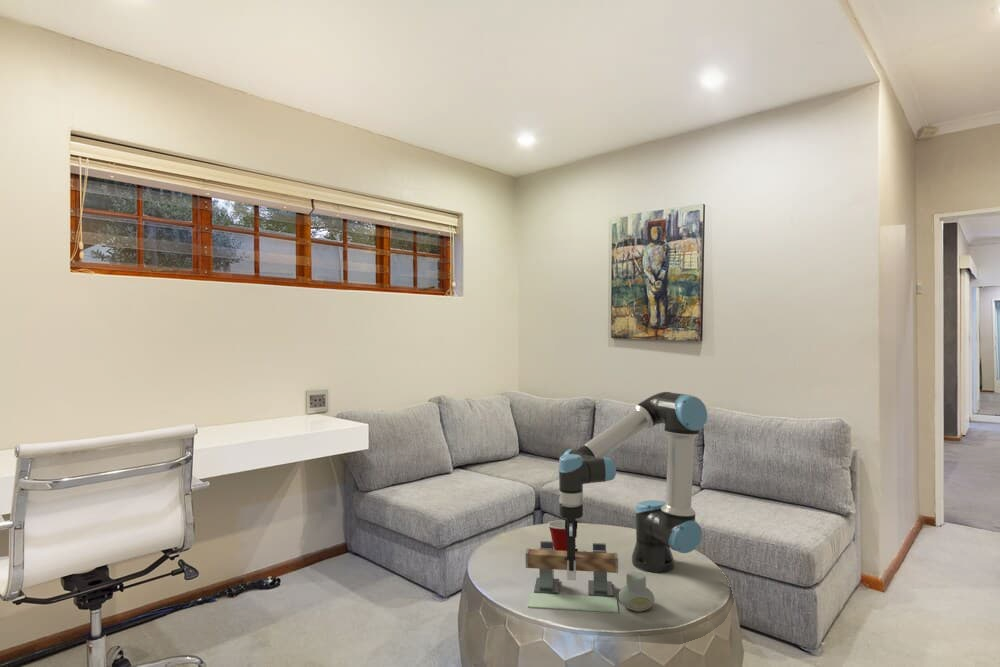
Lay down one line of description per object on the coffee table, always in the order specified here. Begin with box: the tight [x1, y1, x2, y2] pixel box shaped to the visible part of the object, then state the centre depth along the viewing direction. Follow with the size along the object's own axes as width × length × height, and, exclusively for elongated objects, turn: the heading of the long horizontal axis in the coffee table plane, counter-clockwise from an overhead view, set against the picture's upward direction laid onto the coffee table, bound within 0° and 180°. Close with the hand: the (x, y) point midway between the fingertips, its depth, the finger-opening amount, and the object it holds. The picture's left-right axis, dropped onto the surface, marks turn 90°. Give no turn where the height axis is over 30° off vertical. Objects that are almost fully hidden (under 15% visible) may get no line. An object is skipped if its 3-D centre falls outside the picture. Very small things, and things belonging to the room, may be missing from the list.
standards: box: [533, 540, 614, 597], centre depth 186 cm, size 26×10×14 cm, turn 81°
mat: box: [527, 592, 619, 614], centre depth 176 cm, size 28×9×1 cm, turn 81°
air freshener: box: [618, 571, 655, 613], centre depth 173 cm, size 11×8×10 cm
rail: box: [525, 547, 619, 574], centre depth 176 cm, size 29×5×5 cm, turn 81°
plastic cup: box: [547, 520, 567, 551], centre depth 215 cm, size 11×11×12 cm
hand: (571, 575), depth 176 cm, fingers closed on rail, 4 cm apart
